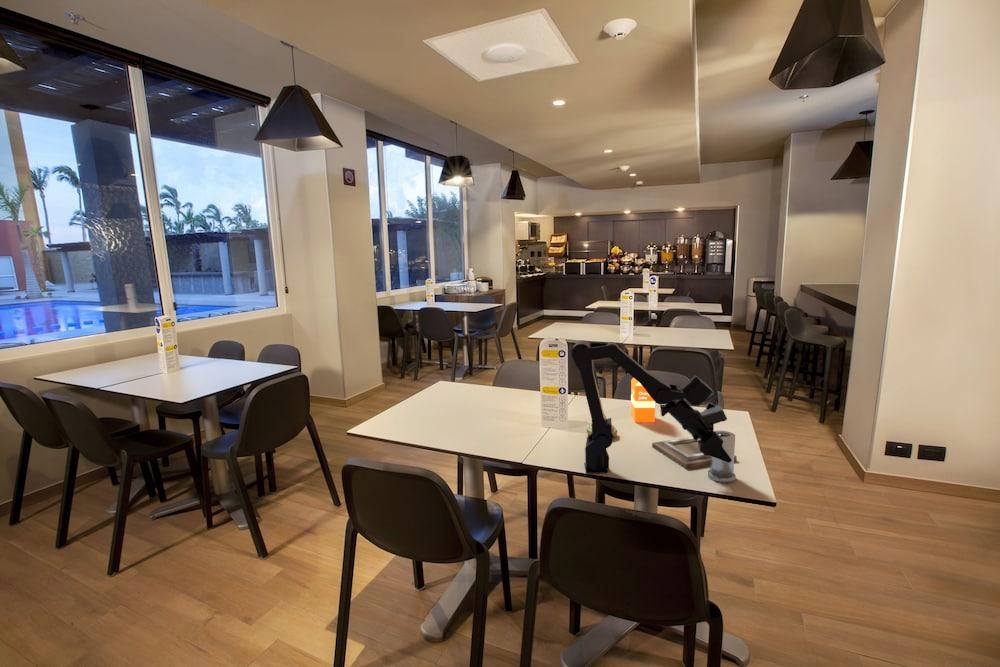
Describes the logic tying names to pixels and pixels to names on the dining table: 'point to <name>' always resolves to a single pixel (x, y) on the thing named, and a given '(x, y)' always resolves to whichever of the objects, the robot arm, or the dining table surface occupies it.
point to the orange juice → (641, 403)
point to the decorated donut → (589, 430)
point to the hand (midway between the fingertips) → (726, 454)
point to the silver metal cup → (720, 468)
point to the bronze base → (684, 452)
